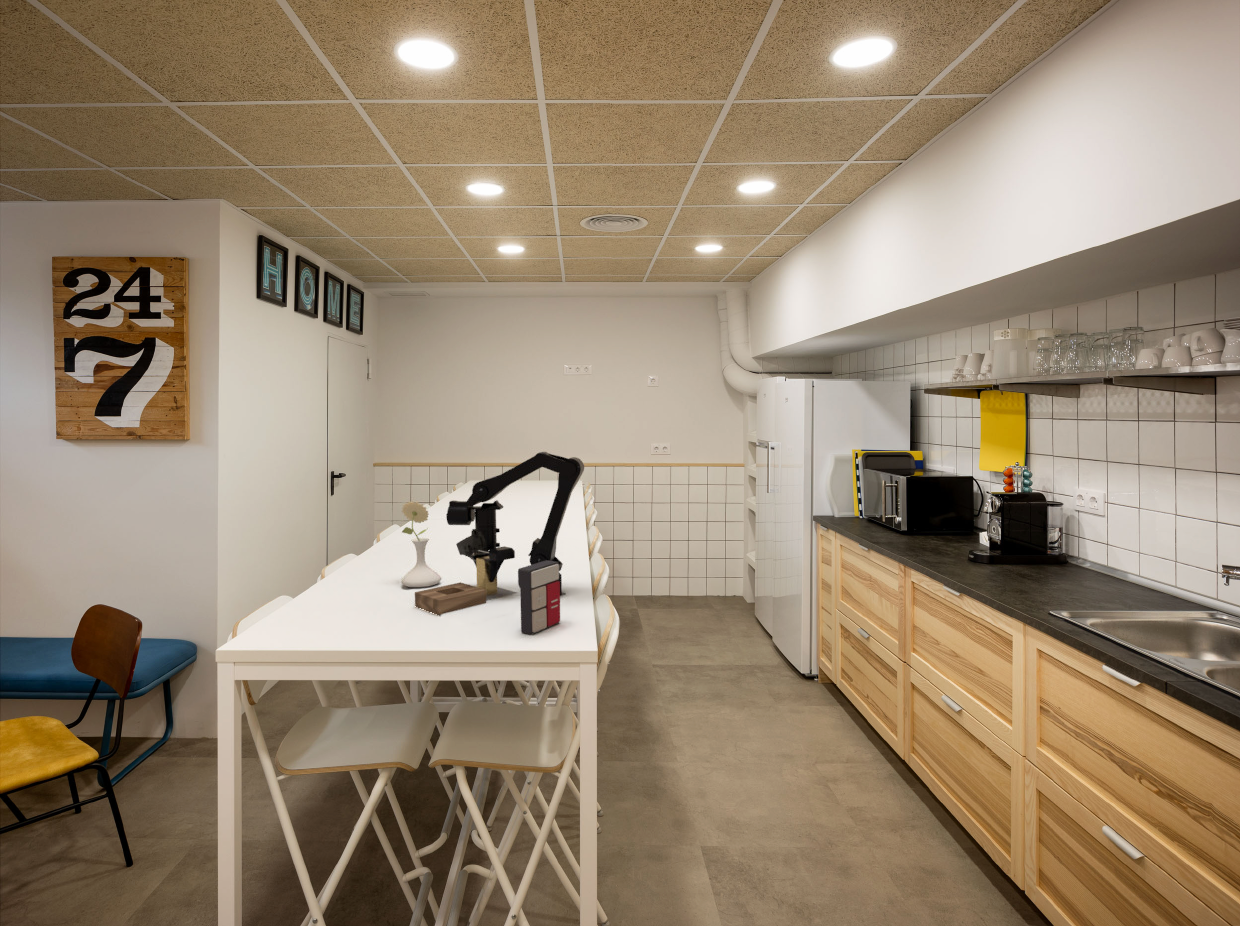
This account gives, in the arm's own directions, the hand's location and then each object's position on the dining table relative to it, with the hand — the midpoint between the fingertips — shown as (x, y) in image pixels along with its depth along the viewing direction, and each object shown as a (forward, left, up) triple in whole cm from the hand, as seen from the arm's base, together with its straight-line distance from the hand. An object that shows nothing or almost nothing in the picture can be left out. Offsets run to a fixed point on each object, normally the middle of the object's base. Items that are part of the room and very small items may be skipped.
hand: (487, 580), depth 191 cm
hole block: (-2, +13, -4) cm, 14 cm away
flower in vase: (+24, +7, -4) cm, 25 cm away
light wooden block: (0, 0, -4) cm, 4 cm away
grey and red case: (-34, +9, -4) cm, 35 cm away
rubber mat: (0, 0, -4) cm, 4 cm away
